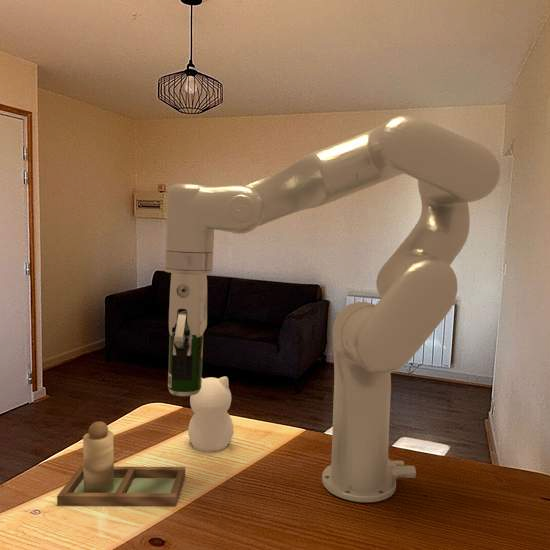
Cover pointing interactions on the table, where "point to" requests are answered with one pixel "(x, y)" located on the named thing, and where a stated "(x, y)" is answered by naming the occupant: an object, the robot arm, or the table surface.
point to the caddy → (138, 494)
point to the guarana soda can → (195, 384)
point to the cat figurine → (211, 416)
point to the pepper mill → (98, 459)
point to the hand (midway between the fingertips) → (185, 373)
